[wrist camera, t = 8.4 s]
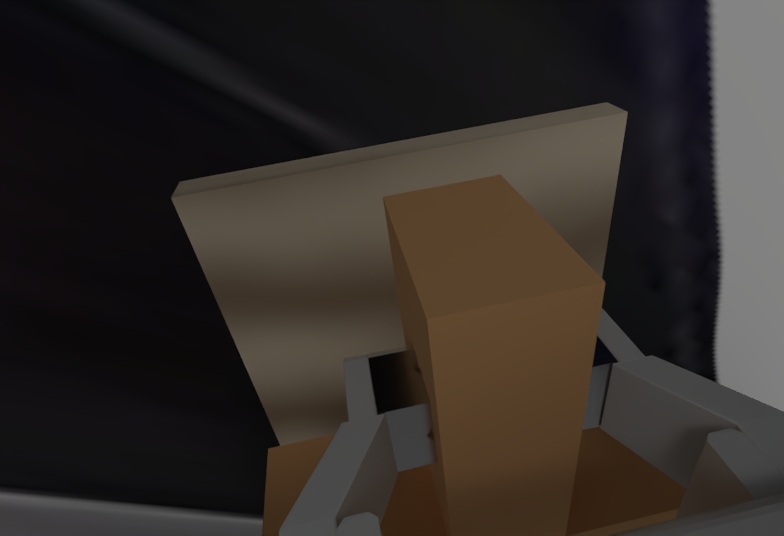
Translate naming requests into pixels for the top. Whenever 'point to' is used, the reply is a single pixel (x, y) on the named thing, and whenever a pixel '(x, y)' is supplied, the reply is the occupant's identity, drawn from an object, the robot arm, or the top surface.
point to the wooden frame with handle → (496, 380)
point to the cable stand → (371, 243)
